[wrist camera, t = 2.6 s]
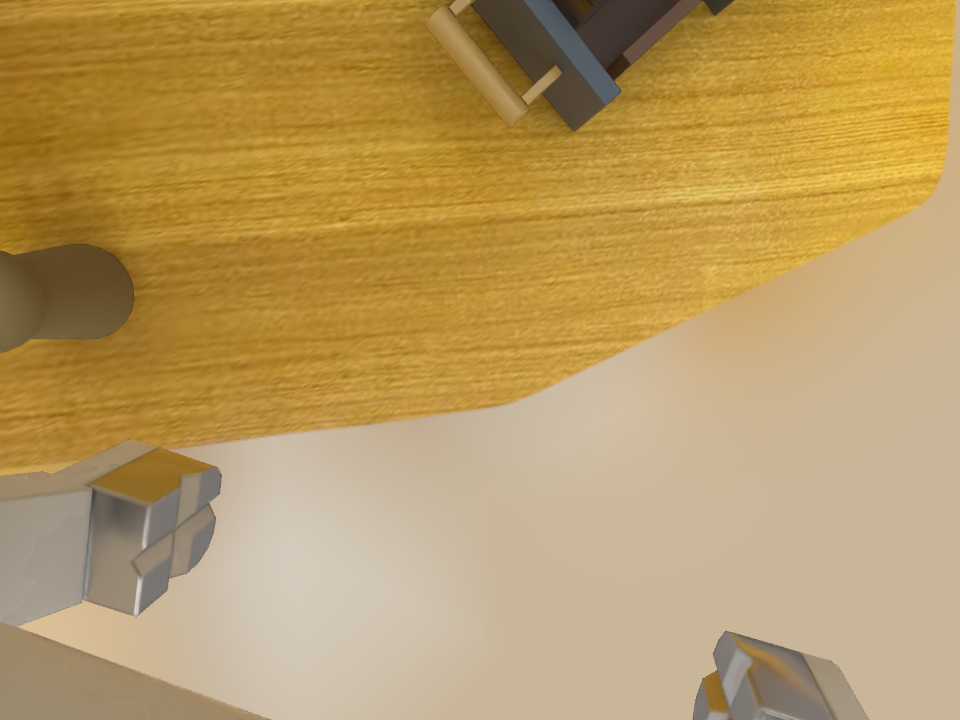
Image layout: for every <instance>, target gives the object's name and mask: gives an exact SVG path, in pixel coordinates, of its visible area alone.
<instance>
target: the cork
mask: <svg viewBox="0 0 960 720" xmlns="http://www.w3.org/2000/svg"><path fill="white" fill-rule="evenodd" d="M133 300H134V293H133V286H132V281H131V279H130V277H129V275H128V273H127V271H126V269H125V267H124V266H123V265H122V264H121V263H120V262H119V261H118V260H117V259H116V258H115V257H114V256H113V255H111V254H109V253H108V252H106V251H104V250H102V249H101V248H98V247H94V246H90V245H86V244H75V245H65V246H59V247H54V248H49V249H44V250H38V251H33V252H28V253H23V254H18V255H11V254H9V253H7V252H4V251H0V353H2V352H6V351H8V350H11V349H14V348H16V347H19V346H21V345H23V344H24V343H25V342H27V341H28V340H29V339H74V340H85V339H99V338H102V337H104V336H107V335H109V334H112V333H114V332H115V331H116V330H117V329H118V328H120V327H121V326H122V325H123V324H124V323H125V321H126V320H127V318H128V316H129V314H130V313H131V311H132V305H133Z"/></svg>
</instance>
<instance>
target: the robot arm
mask: <svg viewBox="0 0 960 720" xmlns="http://www.w3.org/2000/svg"><path fill="white" fill-rule="evenodd" d="M221 478H222V474H221V473H220V471H219V469H218V467H215V466H212V465H209V464H206V463H203V462H200V461H198V460H195V459H192V458H189V457H186V456H183V455H180V454H177V453H174V452H171V451H168V450H166V449H162V448H161V447H158V446H154V445H151V444H148V443H144V442H141V441H137V440H130V439H128V440H126V441H124V442H122V443H120V444H117V445H115V446H113V447H111V448H109V449H106V450H104V451H102V452H100V453H98V454H96V455H93V456H91V457H89V458H87V459H85V460H82V461H80V462H78V463H76V464H74V465H72V466H69V467H67V468H65V469H63V470H61V471H59V472H56V473H54V474H49V473H46V472H33V473H24V474H14V475H5V476H0V720H270V719H267V718H265V717H262V716H259V715H256V714H254V713H251V712H248V711H245V710H243V709H240V708H237V707H234V706H231V705H229V704H226V703H224V702H221V701H218V700H215V699H213V698H210V697H207V696H204V695H202V694H199V693H196V692H193V691H191V690H188V689H185V688H182V687H180V686H177V685H174V684H172V683H168V682H166V681H163V680H161V679H158V678H155V677H152V676H150V675H147V674H144V673H141V672H139V671H136V670H133V669H130V668H128V667H125V666H122V665H119V664H117V663H114V662H111V661H108V660H106V659H103V658H100V657H97V656H95V655H92V654H89V653H87V652H83V651H81V650H78V649H76V648H73V647H70V646H67V645H65V644H62V643H59V642H56V641H54V640H51V639H48V638H45V637H42V636H40V635H37V634H34V633H32V632H29V631H26V630H23V629H21V628H18V627H17V626H20V625H22V624H25V623H28V622H30V621H33V620H36V619H39V618H41V617H44V616H47V615H50V614H53V613H55V612H58V611H61V610H63V609H66V608H69V607H71V606H74V605H77V604H80V603H82V600H85V601H88V602H91V603H94V604H97V605H101V606H103V607H107V608H110V609H113V610H116V611H119V612H123V613H125V614H129V615H132V616H135V617H137V616H138V615H139V614H140V613H141V612H143V611H144V610H145V609H146V608H147V607H149V606H150V605H151V604H152V603H153V602H154V601H155V600H157V599H158V598H159V597H160V596H161V595H163V594H164V593H165V592H166V591H167V589H168V582H169V578H173V577H176V576H180V575H184V574H187V573H188V572H189V571H190V570H191V569H192V568H193V567H194V566H195V565H197V563H198V562H199V561H200V559H201V558H202V556H203V555H204V553H205V552H206V550H207V549H208V547H209V544H210V542H211V539H212V535H213V533H214V528H215V522H216V517H215V515H214V512H213V510H212V508H211V506H210V504H209V503H210V502H211V501H212V500H213V499H214V498H216V497H217V496H218V495H219V494H220V488H221ZM713 656H714V659H715V663H716V667H717V671H715V672H713V673H711V674H710V675H708V676H706V677H705V678H703V680H702V682H701V685H700V688H699V690H698V693H697V696H696V700H695V706H694V713H693V720H869V719H868V717H867V715H866V713H865V712H864V710H863V708H862V706H861V705H860V703H859V701H858V699H857V698H856V696H855V694H854V692H853V691H852V689H851V687H850V686H849V684H848V682H847V681H846V678H845V677H844V675H843V673H842V671H841V670H840V668H839V667H838V666H837V665H836V664H834V663H833V662H832V661H830V660H826V659H823V658H819V657H816V656H812V655H808V654H805V653H801V652H798V651H794V650H791V649H787V648H784V647H781V646H777V645H774V644H771V643H767V642H764V641H760V640H757V639H753V638H750V637H746V636H743V635H740V634H736V633H733V632H728V631H725V632H724V633H723V635H722V636H721V637H720V639H719V640H718V643H717V645H716V648H715V650H714V652H713Z"/></svg>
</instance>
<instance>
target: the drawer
mask: <svg viewBox="0 0 960 720" xmlns="http://www.w3.org/2000/svg"><path fill="white" fill-rule="evenodd" d="M701 1H702V0H609V1H608V2H607V3H606V4H605V5H604V6H603V7H602V8H601V9H599V10H598V11H597V12H596V13H595V14H594V15H593V16H592V17H591V18H590V19H589V20H587V21H586V22H585V23H584V24H583V25H582V26H581V27H580V28H579V29H578V30H577V31H575V30H574V29H573V27H572V26H571V25H570V23H569V22H568V21H567V20H566V18H565V17H564V16H563V14H562V13H561V12H560V10H559V9H558V8H557V7H556V5H555V4H554V3H553V1H552V0H455V1H454V2H453V3H452V4H451V5H450V6H449V8H447V6H446V5H442V6H440V7H439V8H438V9H436V10H435V11H434V12H433V13H432V14H431V16H430V17H429V18H428V20H427V22H426V24H425V25H426V27H427V29H428V30H429V31H430V32H431V34H432V35H433V36H434V37H435V38H436V40H437V41H438V42H439V43H440V45H441V46H442V47H443V48H444V49H445V51H446V52H447V53H448V54H449V55H450V57H451V58H452V59H453V60H454V62H455V63H456V64H457V65H458V66H459V68H460V69H461V70H462V71H463V73H464V74H465V75H466V76H467V77H468V79H469V80H470V81H471V82H472V83H473V85H474V86H475V87H476V88H477V90H478V91H479V92H480V93H481V94H482V96H483V97H484V98H485V99H486V101H487V102H488V103H489V104H490V105H491V107H492V108H493V109H494V110H495V111H496V113H497V114H498V115H499V116H500V118H501V119H502V120H503V121H504V122H505V124H506V125H507V126H508V127H511V126H512V125H513V124H515V123H516V122H517V121H518V120H519V119H520V118H521V117H522V116H523V115H524V114H525V113H526V112H527V111H528V109H529V108H528V107H527V106H528V105H529V104H530V103H531V102H533V101H534V100H535V99H536V98H537V97H538V96H539V95H540V94H541V93H543V94H544V96H545V97H546V98H547V99H548V101H549V102H550V103H551V104H552V106H553V107H554V108H555V109H556V111H557V112H558V113H559V114H560V116H561V117H562V118H563V119H564V121H565V122H566V123H567V125H568V126H569V127H570V128H571V130H572V131H573V132H575V131H576V130H577V129H579V128H580V127H581V126H582V125H584V124H585V123H586V122H587V121H588V120H590V119H591V118H592V117H593V116H594V115H596V114H597V113H598V112H599V111H601V110H602V109H603V108H604V107H605V106H607V105H608V104H609V103H610V102H611V101H612V100H613V99H614V98H615V97H616V96H618V95H619V94H620V93H621V90H620V89H619V87H618V86H617V85H616V83H615V82H614V81H615V80H616V79H617V78H618V77H619V76H620V75H621V74H622V73H623V72H624V71H625V70H627V69H628V68H629V67H630V66H631V65H632V64H633V63H634V62H635V61H636V60H638V59H639V58H640V57H641V56H642V55H643V54H644V53H645V52H646V51H647V50H649V49H650V48H651V47H652V46H653V45H654V44H655V43H656V42H657V41H658V40H659V39H661V38H662V37H663V36H664V35H665V34H666V33H667V32H668V31H669V30H670V29H672V28H673V27H674V26H675V25H676V24H677V23H678V22H679V21H680V20H681V19H683V18H684V17H685V16H686V15H687V14H688V13H689V12H690V11H691V10H692V9H693V8H695V7H696V6H697V5H698V4H699V3H700V2H701ZM471 4H472V5H473V7H474V8H475V9H476V10H477V12H478V13H479V14H480V16H481V17H482V18H483V19H484V21H485V22H486V23H487V24H488V26H489V27H490V28H491V29H492V31H493V32H494V33H495V34H496V36H497V37H498V38H499V39H500V41H501V42H502V43H503V44H504V46H505V47H506V48H507V49H508V51H509V52H510V53H511V54H512V56H513V57H514V58H515V59H516V61H517V62H518V63H519V64H520V66H521V67H522V68H523V69H524V71H525V72H526V73H527V74H528V76H529V77H530V78H531V79H532V81H533V82H534V83H535V84H534V85H533V86H532V87H531V88H530V89H528V90H527V91H526V92H525V93H524V94H523V95H522V96H521V97H519V95H518V94H517V93H516V92H515V91H514V89H513V88H512V87H511V86H510V84H509V83H508V82H507V81H506V79H505V78H504V77H503V76H502V74H501V73H500V72H499V71H498V69H497V68H496V67H495V66H494V65H493V63H492V62H491V61H490V60H489V58H488V57H487V56H486V55H485V53H484V52H483V51H482V50H481V48H480V47H479V46H478V45H477V43H476V42H475V41H474V40H473V39H472V37H471V36H470V35H469V34H468V32H467V31H466V30H465V29H464V27H463V26H462V25H461V24H460V22H459V21H458V20H457V19H456V18H457V17H458V16H459V15H461V14H462V13H463V12H464V11H465V10H466V9H467V8H468V7H469V6H470V5H471Z"/></svg>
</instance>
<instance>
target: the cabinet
mask: <svg viewBox="0 0 960 720" xmlns="http://www.w3.org/2000/svg"><path fill="white" fill-rule="evenodd" d="M704 1H705V2H706V4H707V5H708V6H709V8H710V9H711V11H712V12H713V13H714V15H717V14H718V13H719V12H721V11H722V10H723V9H724V8H726V7H727V6H728V5H729V4H730V3H732V2H733V1H734V0H704Z"/></svg>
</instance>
